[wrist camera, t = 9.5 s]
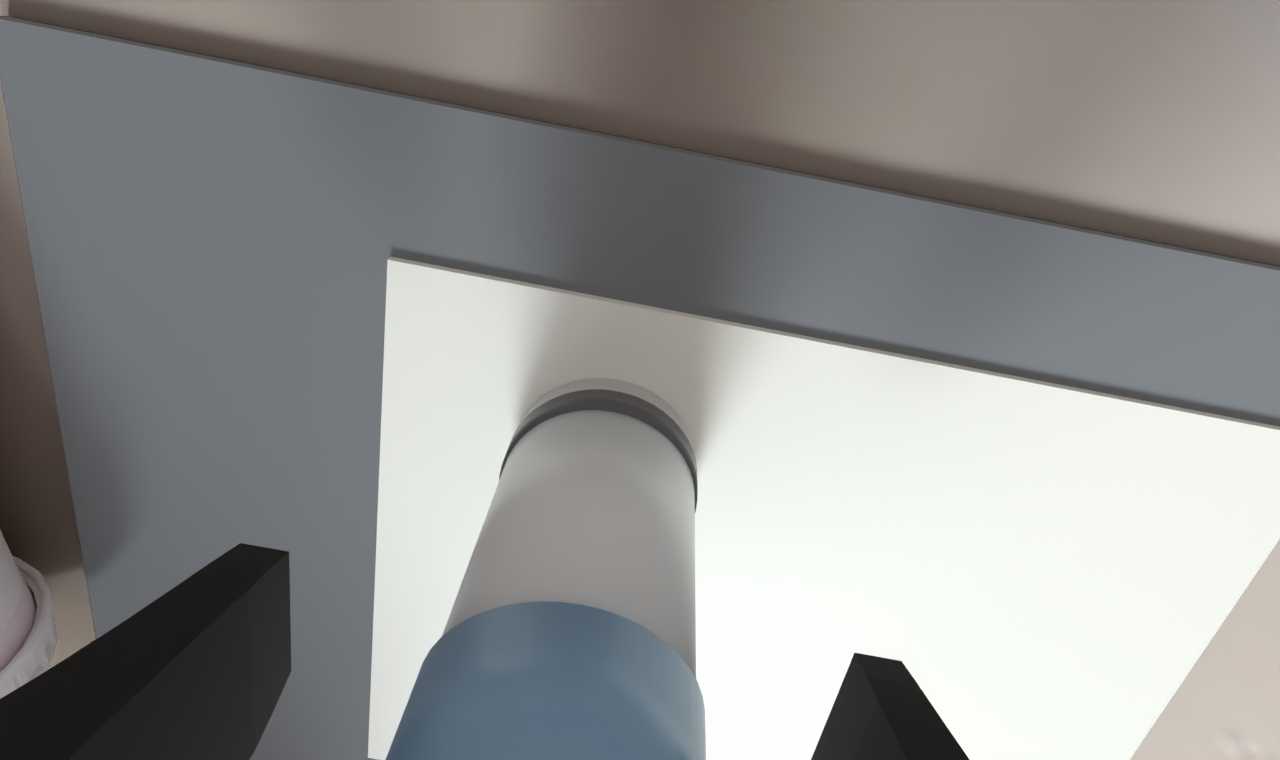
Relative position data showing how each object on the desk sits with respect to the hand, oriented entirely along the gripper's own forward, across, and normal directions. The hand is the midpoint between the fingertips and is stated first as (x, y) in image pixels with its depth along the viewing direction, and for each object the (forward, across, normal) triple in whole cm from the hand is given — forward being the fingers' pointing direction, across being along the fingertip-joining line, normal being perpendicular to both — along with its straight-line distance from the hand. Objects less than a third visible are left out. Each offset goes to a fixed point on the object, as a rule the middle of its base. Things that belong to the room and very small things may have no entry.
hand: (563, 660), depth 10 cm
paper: (+5, -4, +3) cm, 7 cm away
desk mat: (+5, -1, +5) cm, 8 cm away
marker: (+5, 0, 0) cm, 5 cm away
